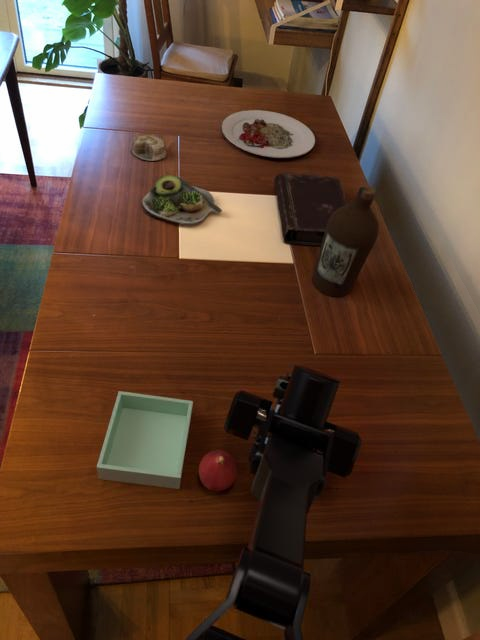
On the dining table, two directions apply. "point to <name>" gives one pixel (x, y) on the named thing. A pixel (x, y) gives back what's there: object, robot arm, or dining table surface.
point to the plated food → (268, 134)
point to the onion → (217, 470)
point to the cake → (148, 148)
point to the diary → (307, 206)
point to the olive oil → (346, 245)
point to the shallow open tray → (146, 440)
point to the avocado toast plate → (178, 201)
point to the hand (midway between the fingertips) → (292, 420)
